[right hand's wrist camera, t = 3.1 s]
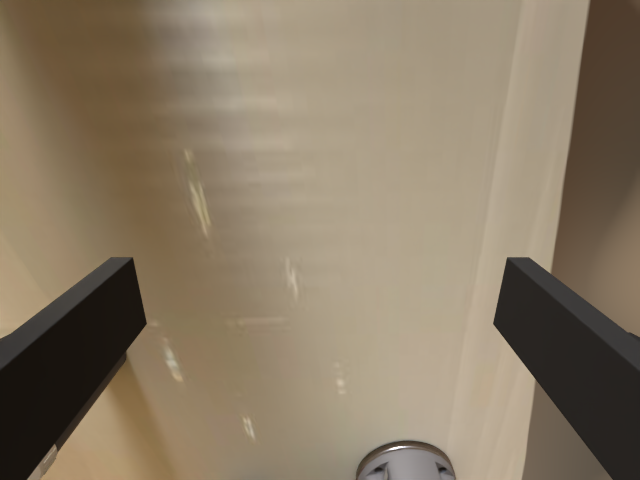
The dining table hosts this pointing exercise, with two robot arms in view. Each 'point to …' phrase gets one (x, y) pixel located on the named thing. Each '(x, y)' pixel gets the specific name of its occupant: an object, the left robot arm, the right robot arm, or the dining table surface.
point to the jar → (89, 404)
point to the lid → (44, 464)
